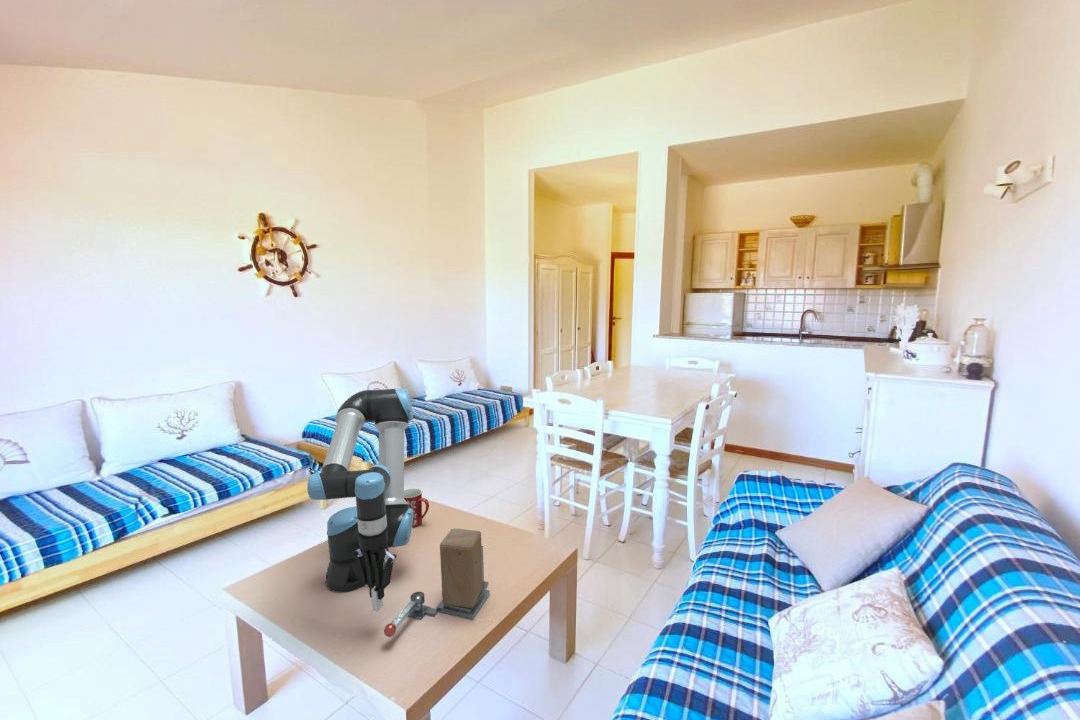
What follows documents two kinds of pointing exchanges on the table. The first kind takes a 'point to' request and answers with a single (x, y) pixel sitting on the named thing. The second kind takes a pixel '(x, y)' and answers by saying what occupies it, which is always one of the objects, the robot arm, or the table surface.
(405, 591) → the table surface
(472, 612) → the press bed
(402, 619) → the lever
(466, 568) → the wooden block
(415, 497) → the mug
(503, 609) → the table surface
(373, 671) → the table surface
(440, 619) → the table surface
